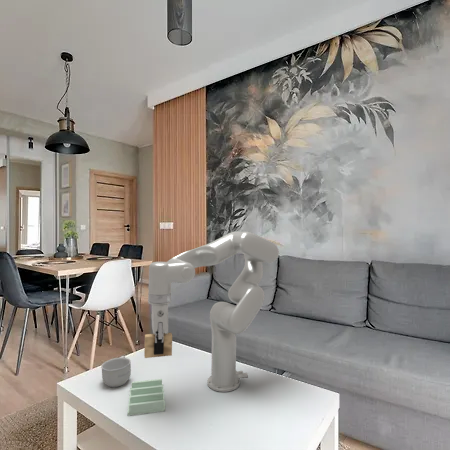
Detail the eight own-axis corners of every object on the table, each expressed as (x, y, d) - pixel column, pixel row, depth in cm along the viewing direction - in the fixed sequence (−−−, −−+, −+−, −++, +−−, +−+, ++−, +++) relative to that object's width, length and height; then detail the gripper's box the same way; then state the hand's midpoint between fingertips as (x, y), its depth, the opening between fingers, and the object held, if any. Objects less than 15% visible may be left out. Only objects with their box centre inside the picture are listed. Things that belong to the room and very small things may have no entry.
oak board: (170, 352, 109) (171, 332, 109) (171, 355, 106) (172, 335, 106) (144, 355, 106) (144, 334, 106) (144, 358, 103) (145, 337, 103)
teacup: (121, 392, 114) (121, 370, 114) (95, 388, 116) (95, 367, 116) (139, 374, 128) (139, 354, 128) (115, 371, 130) (115, 352, 130)
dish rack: (163, 386, 118) (163, 378, 118) (165, 410, 103) (165, 401, 103) (130, 390, 115) (130, 381, 115) (127, 415, 100) (127, 405, 100)
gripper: (173, 303, 99) (172, 361, 99) (168, 292, 115) (166, 342, 115) (149, 304, 97) (148, 363, 97) (147, 293, 113) (145, 344, 113)
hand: (158, 351), depth 106 cm, fingers closed on oak board, 2 cm apart
